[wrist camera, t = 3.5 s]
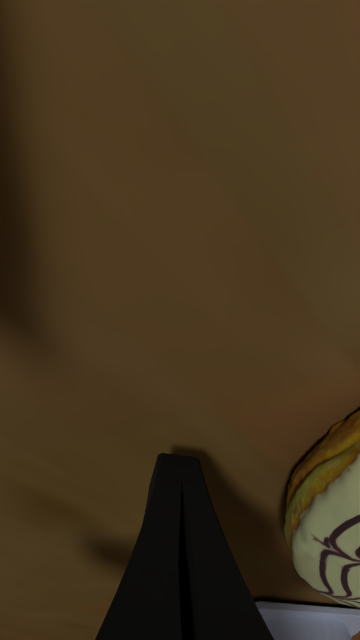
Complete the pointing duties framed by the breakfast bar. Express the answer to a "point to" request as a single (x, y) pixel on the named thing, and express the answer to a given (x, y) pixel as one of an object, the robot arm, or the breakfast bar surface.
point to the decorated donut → (328, 514)
